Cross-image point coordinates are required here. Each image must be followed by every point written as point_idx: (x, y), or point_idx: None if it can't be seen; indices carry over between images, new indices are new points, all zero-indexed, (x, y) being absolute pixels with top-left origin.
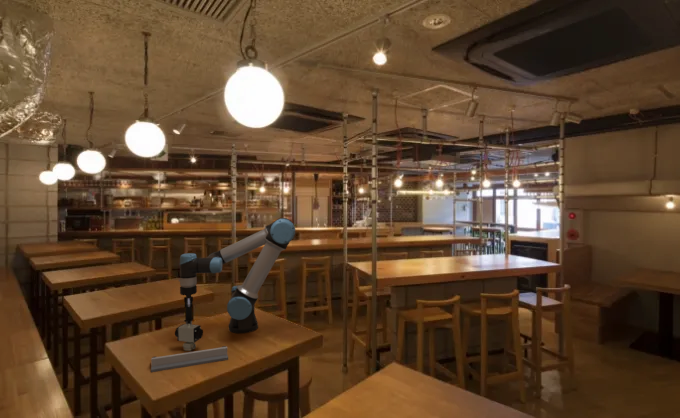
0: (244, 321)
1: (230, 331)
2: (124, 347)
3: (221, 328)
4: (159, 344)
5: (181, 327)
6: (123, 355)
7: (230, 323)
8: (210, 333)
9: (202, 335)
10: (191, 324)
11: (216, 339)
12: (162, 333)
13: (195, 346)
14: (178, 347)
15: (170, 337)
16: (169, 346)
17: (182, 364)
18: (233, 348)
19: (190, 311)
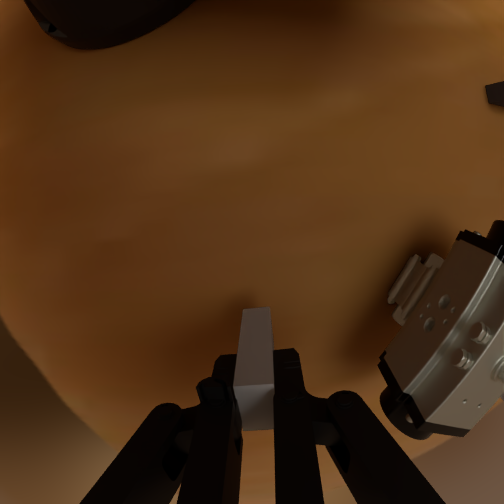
0: None
1: (160, 24)
2: (258, 493)
3: (72, 101)
4: None
5: (487, 410)
6: (337, 483)
7: (119, 5)
8: (144, 161)
9: (496, 222)
10: (466, 361)
11: (290, 106)
12: (117, 417)
13: (432, 252)
14: (353, 346)
15: (174, 395)
16: (316, 388)
17: None
18: (456, 40)
19: (429, 498)
